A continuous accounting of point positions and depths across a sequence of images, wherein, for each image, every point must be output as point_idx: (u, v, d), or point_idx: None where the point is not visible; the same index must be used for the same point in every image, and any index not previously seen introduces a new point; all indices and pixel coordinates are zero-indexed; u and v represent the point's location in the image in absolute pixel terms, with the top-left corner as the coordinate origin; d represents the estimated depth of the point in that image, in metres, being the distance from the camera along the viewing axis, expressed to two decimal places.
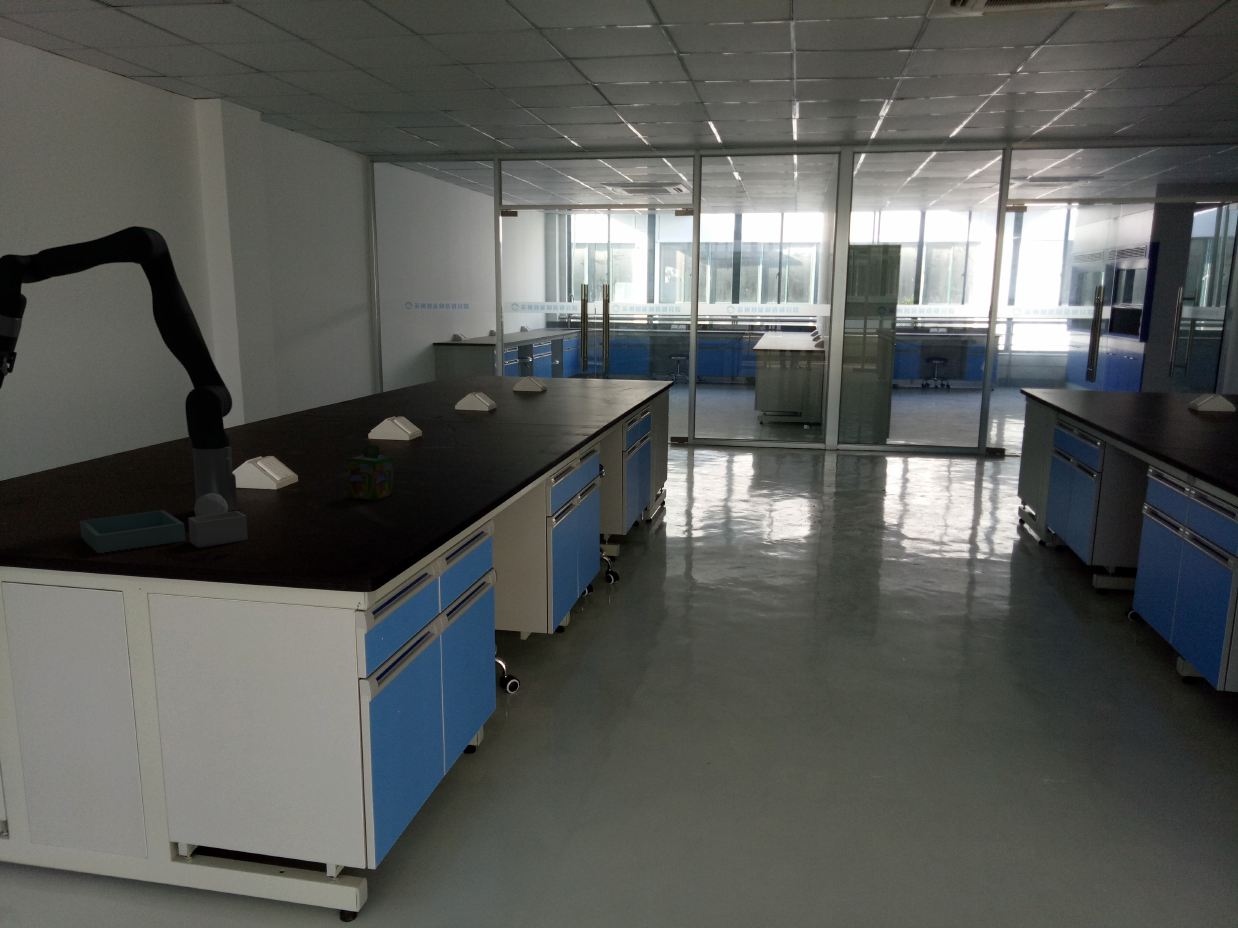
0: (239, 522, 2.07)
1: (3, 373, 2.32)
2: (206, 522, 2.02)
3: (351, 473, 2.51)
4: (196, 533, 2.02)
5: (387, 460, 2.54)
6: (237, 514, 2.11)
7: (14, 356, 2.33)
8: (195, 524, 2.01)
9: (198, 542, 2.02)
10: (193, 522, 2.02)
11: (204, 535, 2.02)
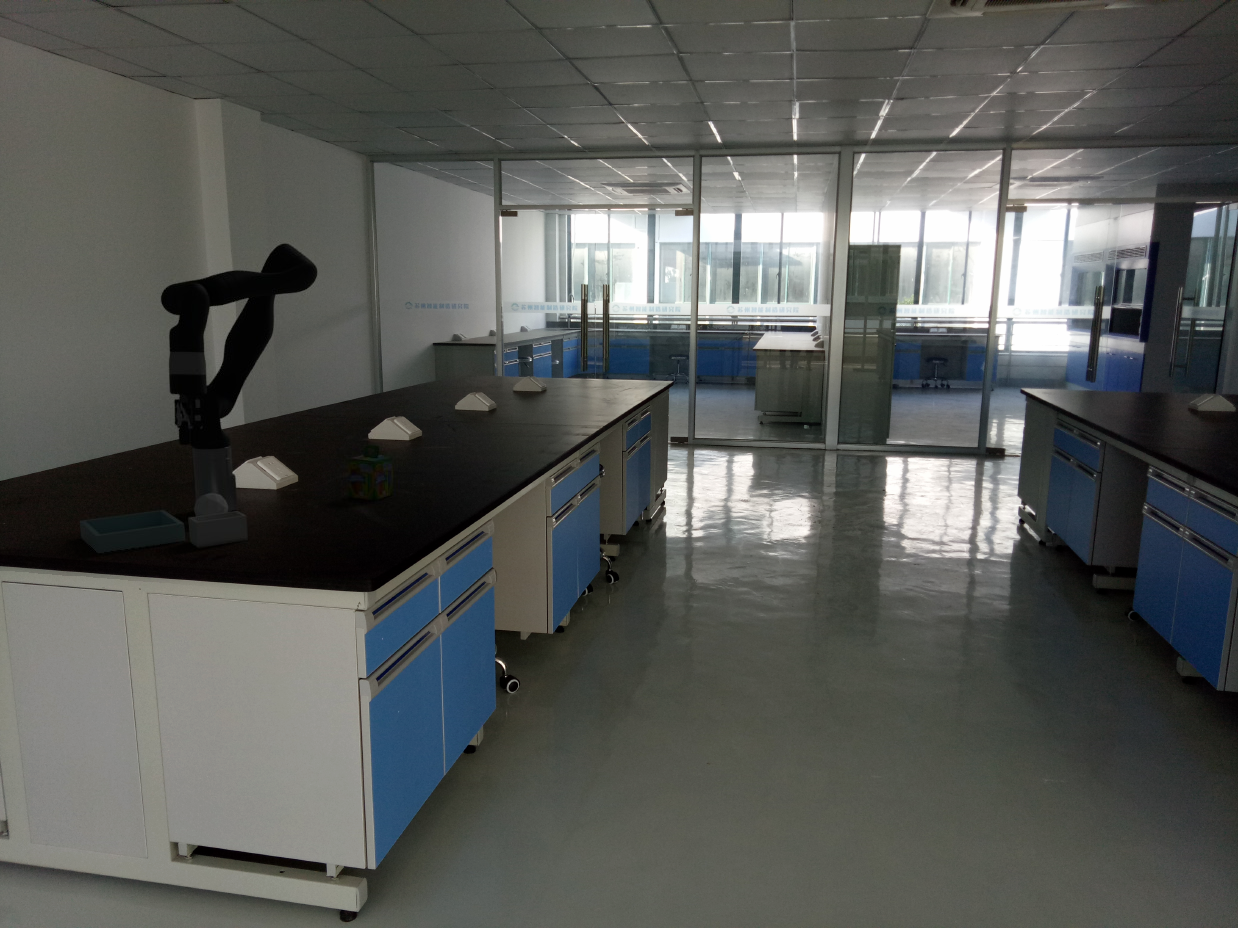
0: (239, 522, 2.07)
1: (188, 425, 2.03)
2: (206, 522, 2.02)
3: (351, 473, 2.51)
4: (196, 533, 2.02)
5: (387, 460, 2.54)
6: (237, 514, 2.11)
7: None
8: (195, 524, 2.01)
9: (198, 542, 2.02)
10: (193, 522, 2.02)
11: (204, 535, 2.02)
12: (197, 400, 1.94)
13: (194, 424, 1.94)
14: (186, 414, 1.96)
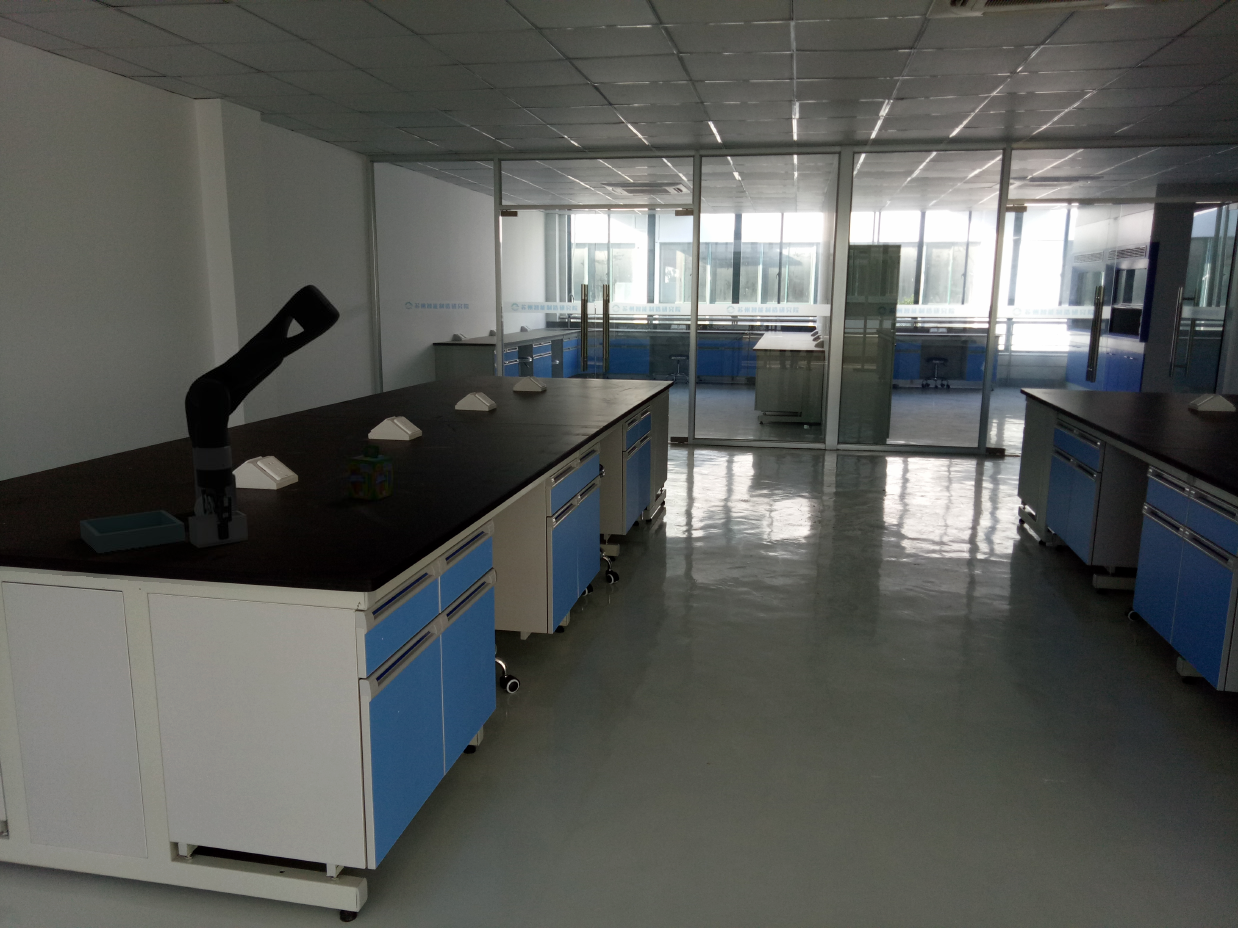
0: (239, 521, 2.07)
1: None
2: (206, 521, 2.02)
3: (351, 473, 2.51)
4: (196, 532, 2.01)
5: (387, 460, 2.54)
6: (237, 513, 2.10)
7: None
8: (195, 523, 2.01)
9: (198, 541, 2.02)
10: (193, 521, 2.02)
11: (204, 534, 2.02)
12: (225, 499, 2.00)
13: (222, 521, 2.01)
14: (214, 509, 2.03)
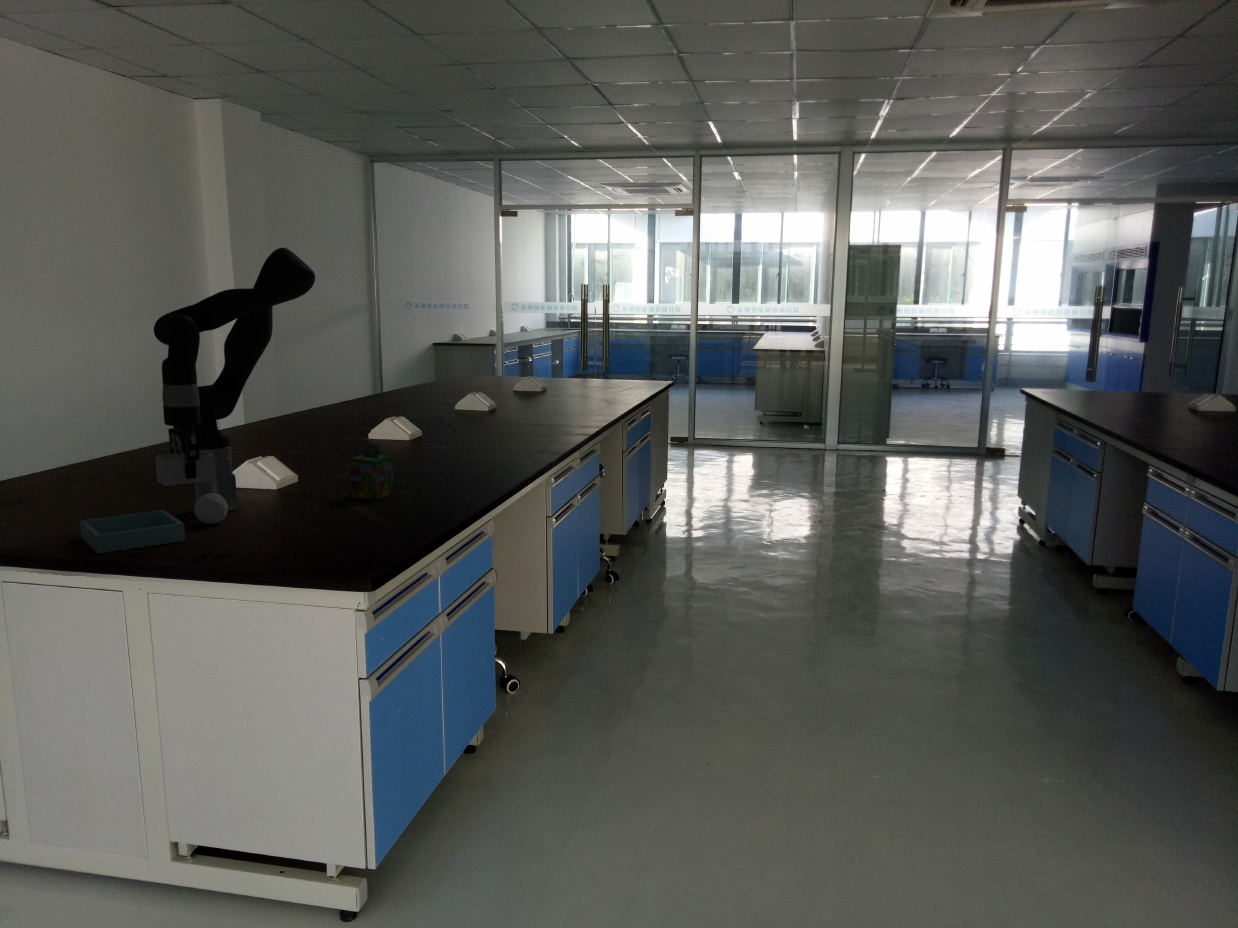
0: (207, 461, 2.05)
1: None
2: (173, 459, 2.00)
3: (351, 473, 2.51)
4: (163, 470, 1.99)
5: (387, 460, 2.54)
6: (205, 454, 2.08)
7: None
8: (162, 461, 1.99)
9: (165, 480, 1.99)
10: (160, 459, 2.00)
11: (171, 473, 2.00)
12: (192, 436, 1.98)
13: (189, 459, 1.99)
14: (181, 447, 2.00)
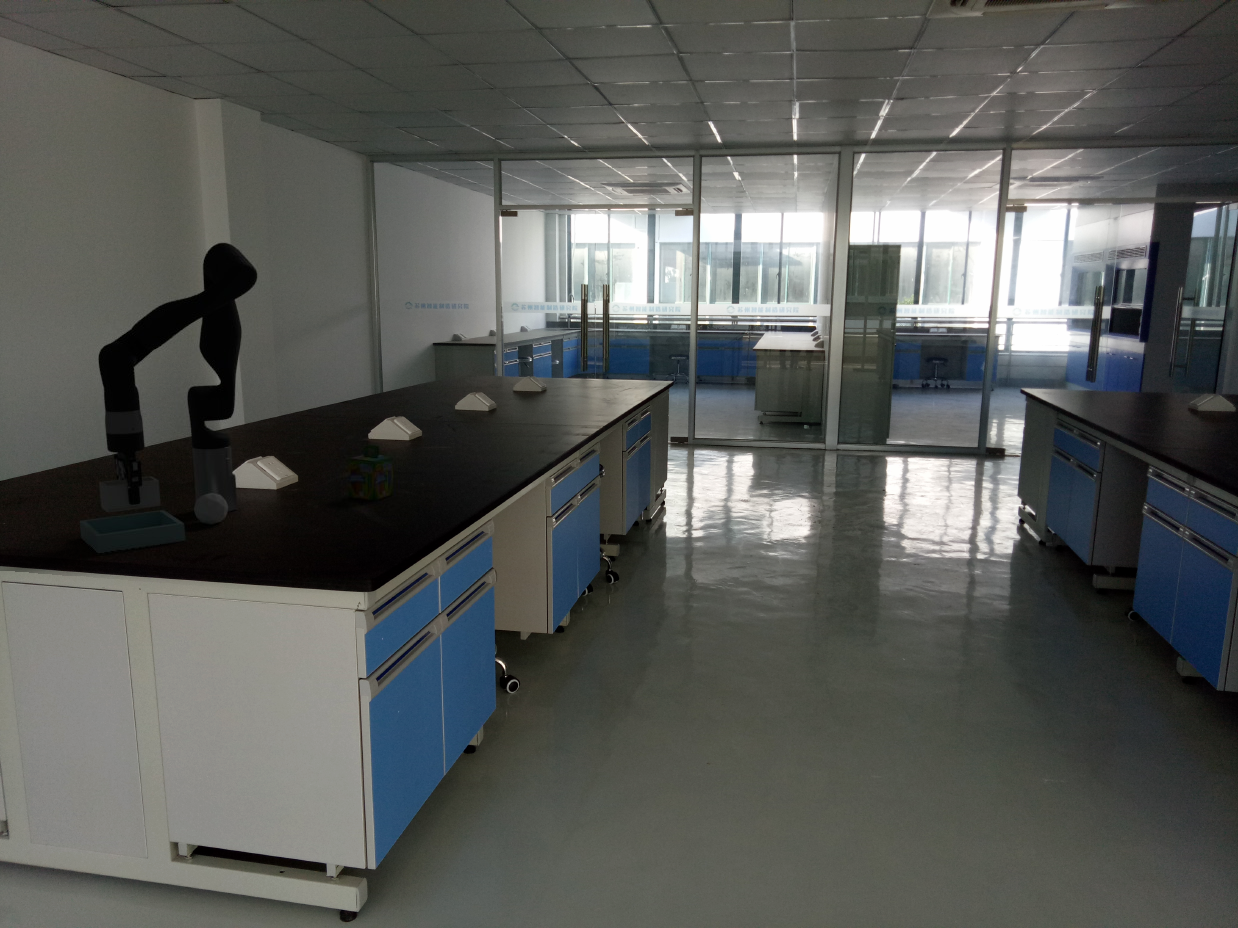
0: (151, 487, 2.06)
1: None
2: (116, 486, 2.01)
3: (351, 473, 2.51)
4: (105, 497, 2.00)
5: (387, 460, 2.54)
6: (150, 479, 2.09)
7: None
8: (104, 488, 2.00)
9: (107, 506, 2.00)
10: (103, 486, 2.01)
11: (114, 499, 2.01)
12: (134, 463, 1.99)
13: (131, 485, 2.00)
14: (124, 473, 2.01)
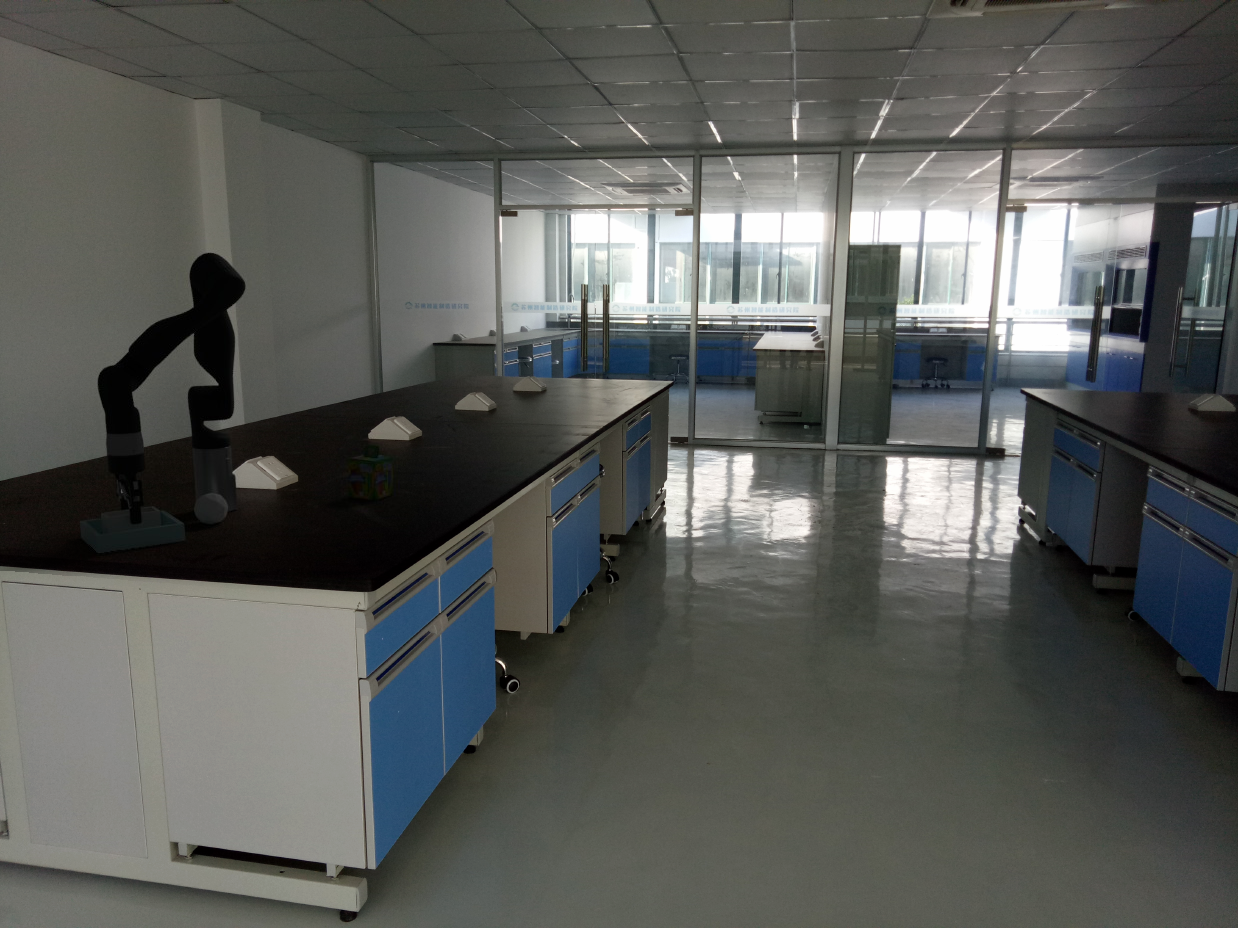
0: (153, 517, 2.07)
1: None
2: (118, 517, 2.02)
3: (351, 473, 2.51)
4: (107, 528, 2.02)
5: (387, 460, 2.54)
6: (152, 509, 2.11)
7: None
8: (106, 519, 2.01)
9: None
10: (105, 517, 2.02)
11: (116, 530, 2.02)
12: (134, 482, 2.00)
13: (133, 505, 2.00)
14: (125, 494, 2.02)
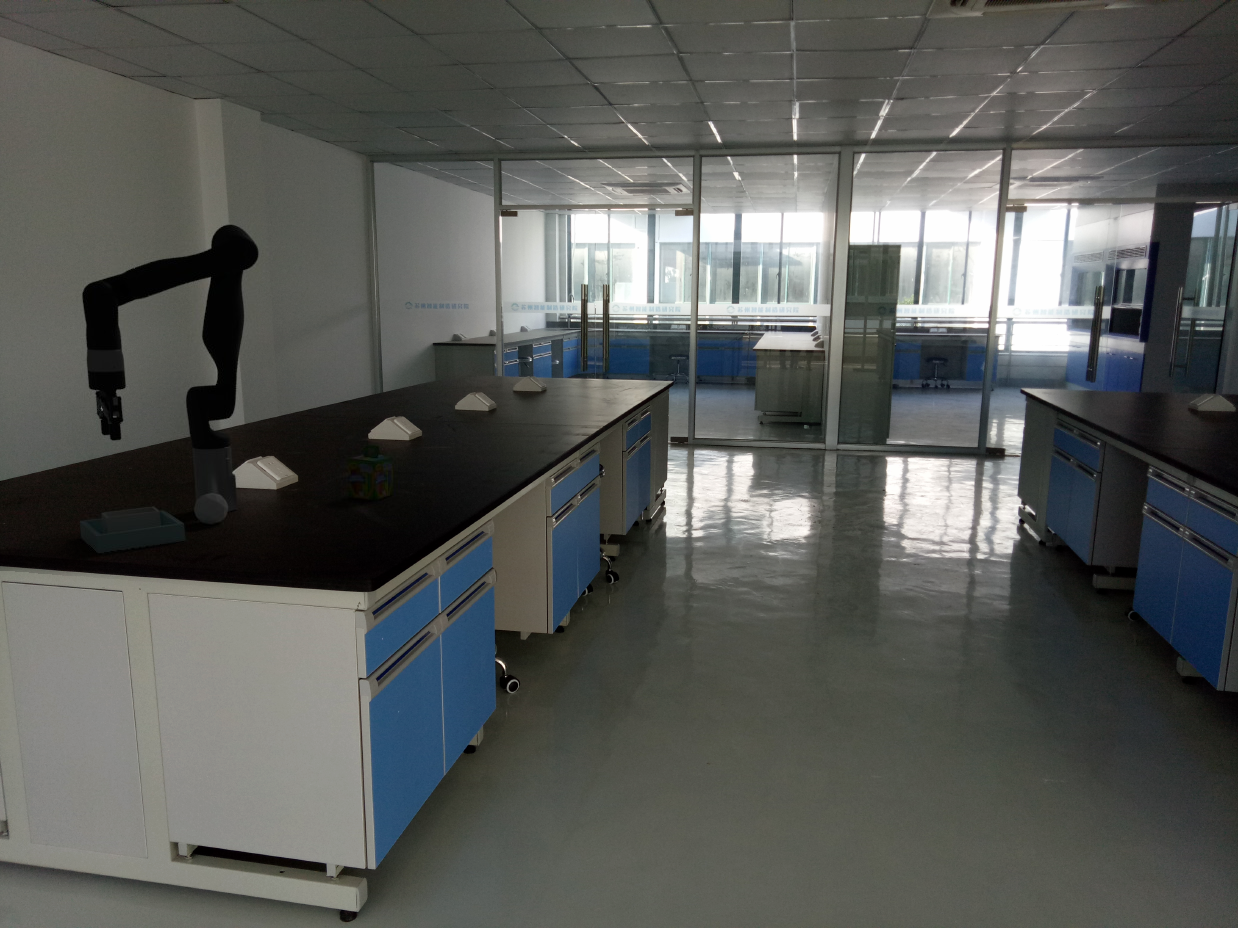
0: (152, 518, 2.07)
1: None
2: (117, 517, 2.02)
3: (351, 473, 2.51)
4: (107, 528, 2.02)
5: (387, 460, 2.54)
6: (153, 510, 2.10)
7: None
8: (106, 519, 2.01)
9: None
10: (104, 517, 2.02)
11: (115, 530, 2.02)
12: (114, 397, 2.02)
13: (112, 421, 2.03)
14: (105, 410, 2.04)
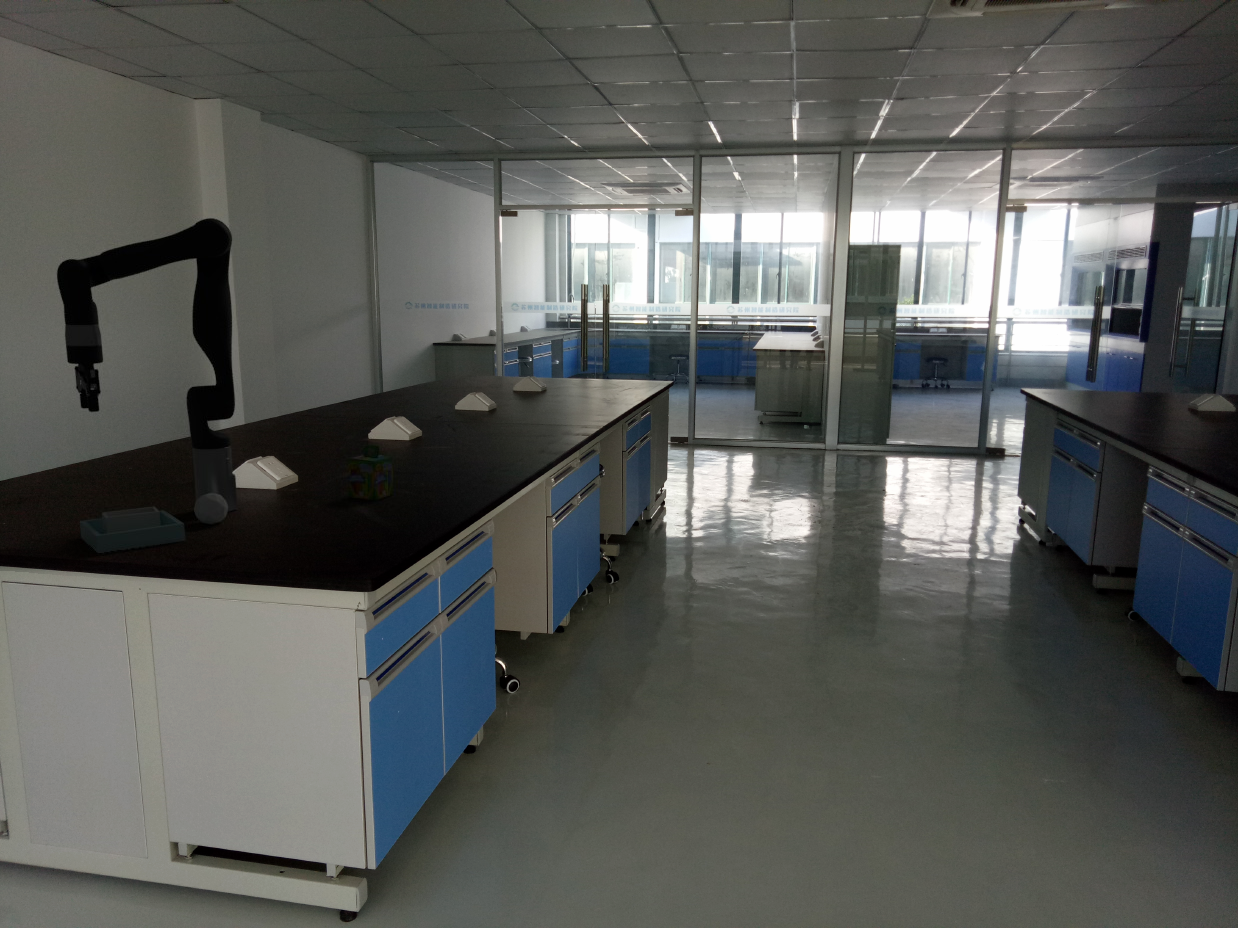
0: (152, 518, 2.07)
1: None
2: (116, 517, 2.02)
3: (351, 473, 2.51)
4: (106, 528, 2.02)
5: (387, 460, 2.54)
6: (153, 510, 2.10)
7: None
8: (105, 519, 2.02)
9: None
10: (104, 517, 2.03)
11: (114, 530, 2.02)
12: (91, 370, 2.12)
13: (90, 393, 2.12)
14: (83, 382, 2.14)
